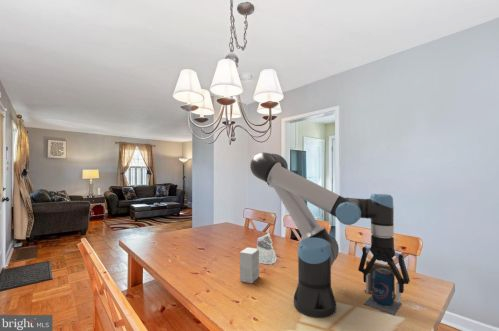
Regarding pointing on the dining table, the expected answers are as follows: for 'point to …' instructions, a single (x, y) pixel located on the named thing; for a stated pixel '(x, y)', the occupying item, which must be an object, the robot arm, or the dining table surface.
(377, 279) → the soda can
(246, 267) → the small box
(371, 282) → the walnut screen
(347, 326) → the dining table surface
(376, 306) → the pad
